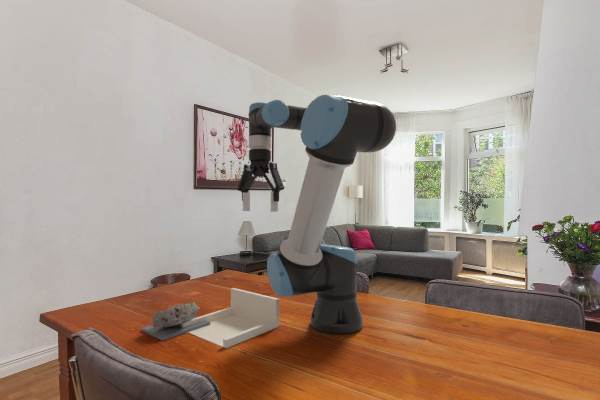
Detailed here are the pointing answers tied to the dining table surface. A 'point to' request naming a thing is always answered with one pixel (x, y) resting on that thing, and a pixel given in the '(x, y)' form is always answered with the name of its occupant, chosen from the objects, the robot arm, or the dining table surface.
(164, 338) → the slate pad
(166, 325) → the stone
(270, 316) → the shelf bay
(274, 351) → the dining table surface
